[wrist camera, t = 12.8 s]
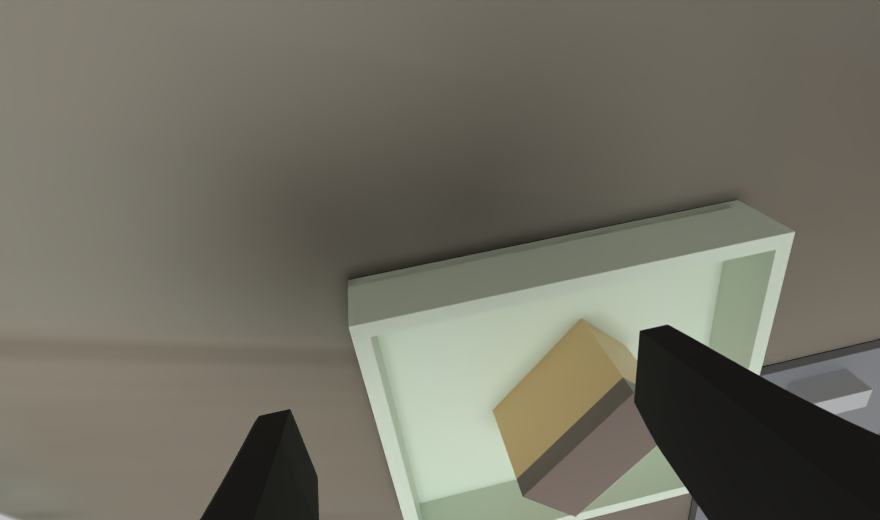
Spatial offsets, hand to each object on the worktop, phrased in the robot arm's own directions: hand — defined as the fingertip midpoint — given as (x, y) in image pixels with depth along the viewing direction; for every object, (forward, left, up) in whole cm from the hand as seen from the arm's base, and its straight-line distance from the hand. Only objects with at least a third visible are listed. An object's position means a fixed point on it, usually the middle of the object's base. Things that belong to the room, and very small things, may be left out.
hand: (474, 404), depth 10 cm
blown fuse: (-5, +9, -9) cm, 14 cm away
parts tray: (-5, +9, -9) cm, 14 cm away
